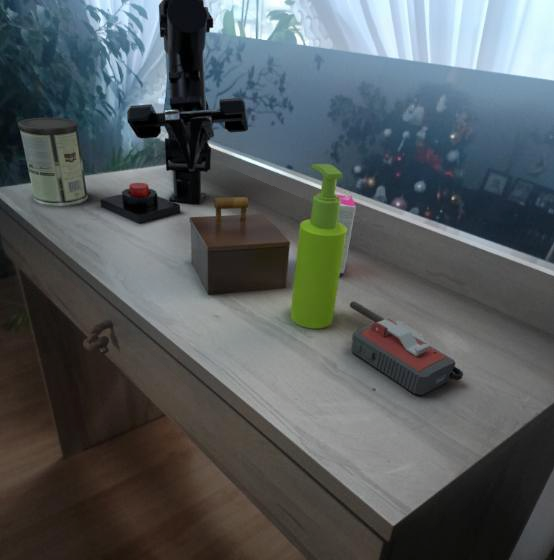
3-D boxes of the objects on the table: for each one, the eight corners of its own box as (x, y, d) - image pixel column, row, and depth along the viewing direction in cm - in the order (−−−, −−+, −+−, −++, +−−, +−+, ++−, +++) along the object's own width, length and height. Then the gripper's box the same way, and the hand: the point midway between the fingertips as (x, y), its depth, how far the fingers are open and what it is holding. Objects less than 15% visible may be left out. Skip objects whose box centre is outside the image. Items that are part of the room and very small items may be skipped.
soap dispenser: (320, 302, 75) (340, 160, 64) (339, 326, 70) (364, 175, 59) (282, 306, 74) (295, 160, 62) (299, 330, 68) (317, 176, 57)
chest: (191, 263, 83) (190, 223, 79) (262, 258, 87) (265, 219, 83) (207, 295, 75) (207, 252, 71) (285, 287, 79) (289, 246, 75)
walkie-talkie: (471, 379, 62) (354, 309, 74) (482, 349, 60) (359, 282, 72) (425, 404, 57) (309, 325, 70) (435, 372, 55) (312, 296, 67)
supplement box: (344, 276, 83) (356, 206, 77) (308, 273, 83) (317, 203, 77) (341, 262, 88) (352, 194, 82) (307, 259, 88) (315, 191, 81)
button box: (142, 197, 108) (140, 180, 106) (180, 213, 102) (179, 195, 100) (100, 207, 101) (98, 189, 99) (139, 224, 95) (137, 205, 93)
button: (141, 190, 102) (140, 181, 101) (152, 195, 100) (152, 186, 99) (126, 193, 99) (125, 184, 98) (137, 198, 98) (137, 189, 97)
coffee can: (48, 188, 108) (35, 114, 100) (96, 193, 108) (86, 120, 99) (23, 203, 100) (6, 124, 91) (74, 209, 99) (62, 130, 91)
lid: (189, 221, 80) (188, 195, 78) (263, 217, 84) (265, 192, 81) (207, 251, 71) (207, 222, 69) (289, 246, 75) (292, 218, 72)
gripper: (248, 99, 91) (253, 186, 91) (144, 106, 92) (148, 192, 91) (242, 59, 80) (247, 158, 80) (124, 68, 81) (128, 166, 80)
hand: (191, 170), depth 83 cm, fingers closed
